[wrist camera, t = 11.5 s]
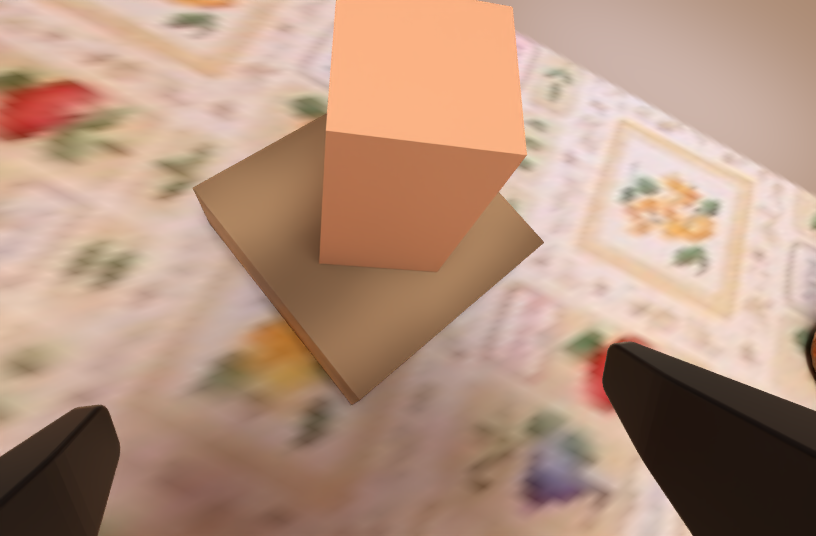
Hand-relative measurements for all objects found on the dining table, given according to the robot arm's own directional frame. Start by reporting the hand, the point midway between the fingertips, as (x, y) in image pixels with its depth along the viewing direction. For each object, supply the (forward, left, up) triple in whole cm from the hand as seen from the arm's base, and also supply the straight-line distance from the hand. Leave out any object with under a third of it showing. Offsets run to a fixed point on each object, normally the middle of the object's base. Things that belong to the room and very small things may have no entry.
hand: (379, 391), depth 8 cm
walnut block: (+5, -6, -14) cm, 16 cm away
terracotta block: (+5, -7, -10) cm, 13 cm away
